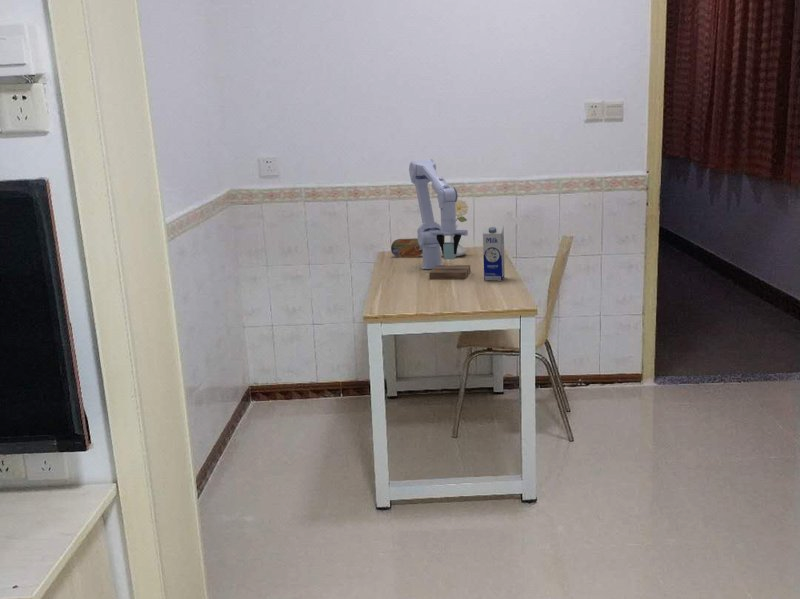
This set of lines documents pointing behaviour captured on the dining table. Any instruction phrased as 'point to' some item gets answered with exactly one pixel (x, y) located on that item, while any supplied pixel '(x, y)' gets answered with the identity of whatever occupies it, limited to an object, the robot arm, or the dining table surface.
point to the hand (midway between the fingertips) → (449, 254)
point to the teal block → (449, 250)
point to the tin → (406, 248)
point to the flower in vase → (460, 210)
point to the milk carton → (493, 252)
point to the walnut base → (450, 272)
